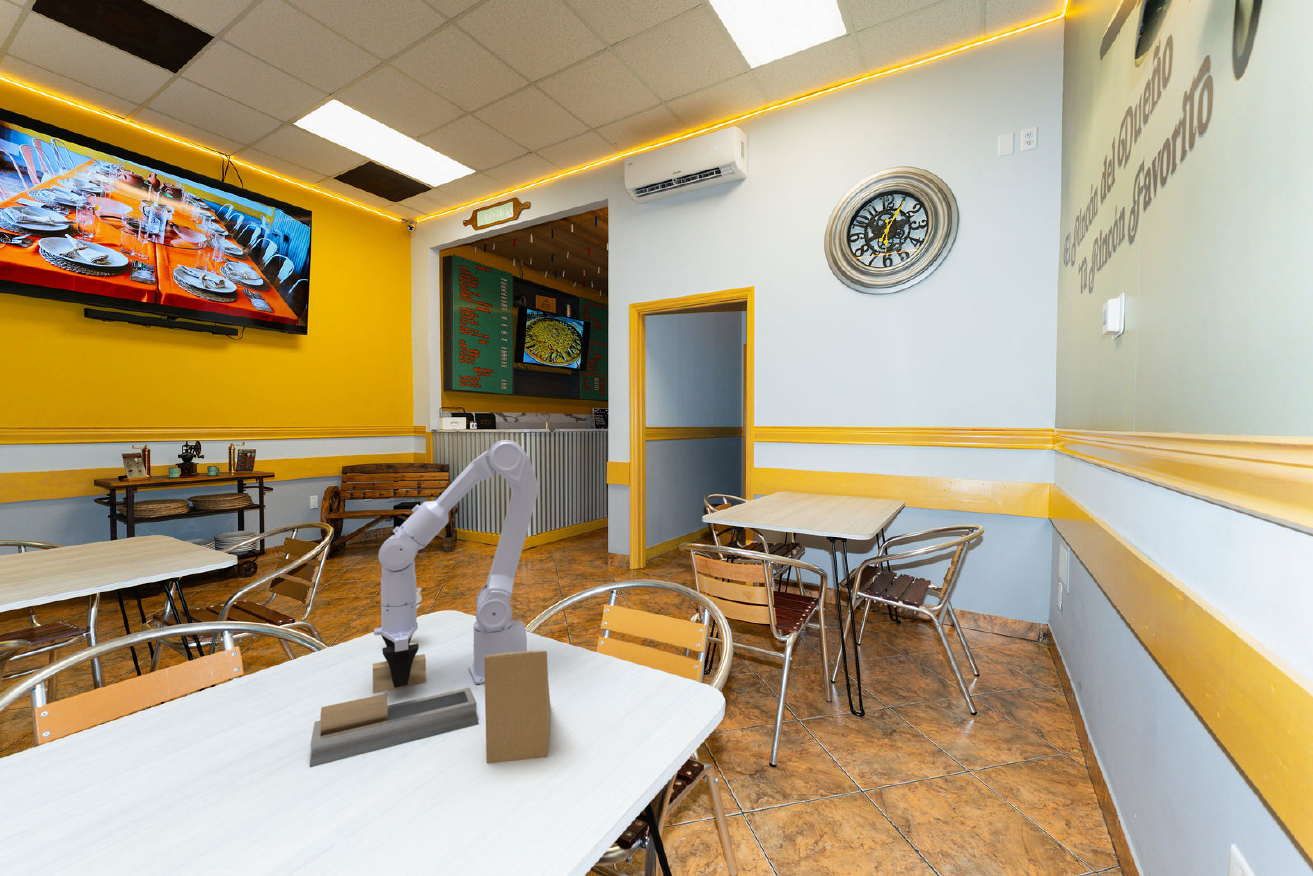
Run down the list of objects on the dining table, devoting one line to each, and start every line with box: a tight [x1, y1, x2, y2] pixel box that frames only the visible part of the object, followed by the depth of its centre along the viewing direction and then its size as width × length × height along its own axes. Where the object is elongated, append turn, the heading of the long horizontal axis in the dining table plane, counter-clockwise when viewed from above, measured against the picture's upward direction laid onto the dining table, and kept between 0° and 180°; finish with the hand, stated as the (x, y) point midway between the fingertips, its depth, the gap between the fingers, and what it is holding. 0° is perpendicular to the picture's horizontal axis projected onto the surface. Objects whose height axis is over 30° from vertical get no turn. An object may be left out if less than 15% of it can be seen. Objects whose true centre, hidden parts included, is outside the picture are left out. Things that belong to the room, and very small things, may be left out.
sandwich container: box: [484, 650, 551, 764], centre depth 81 cm, size 9×15×15 cm, turn 9°
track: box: [309, 687, 479, 767], centre depth 82 cm, size 22×9×5 cm, turn 119°
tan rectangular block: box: [372, 653, 427, 694], centre depth 96 cm, size 8×2×4 cm, turn 119°
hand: (399, 677), depth 96 cm, fingers open, 7 cm apart
